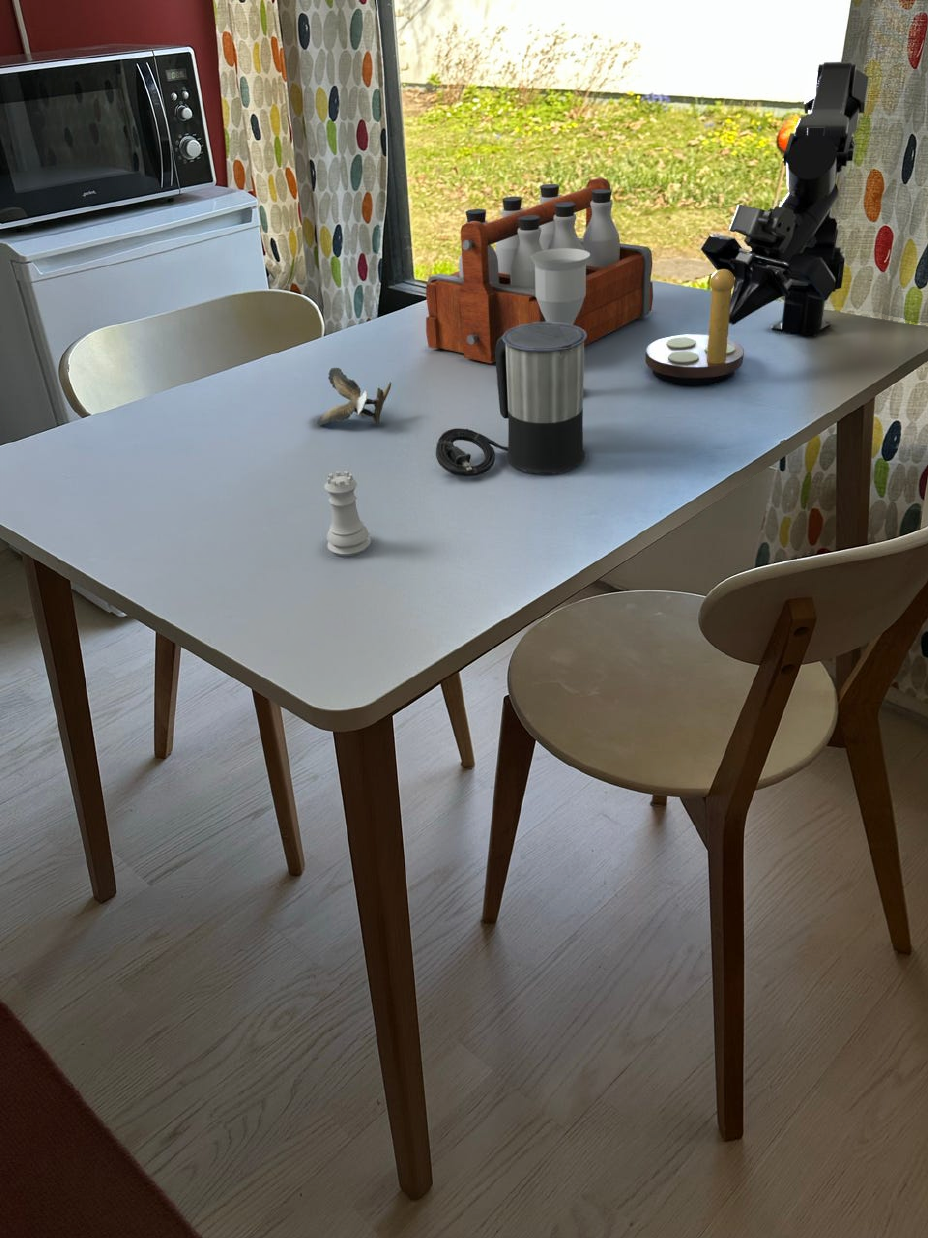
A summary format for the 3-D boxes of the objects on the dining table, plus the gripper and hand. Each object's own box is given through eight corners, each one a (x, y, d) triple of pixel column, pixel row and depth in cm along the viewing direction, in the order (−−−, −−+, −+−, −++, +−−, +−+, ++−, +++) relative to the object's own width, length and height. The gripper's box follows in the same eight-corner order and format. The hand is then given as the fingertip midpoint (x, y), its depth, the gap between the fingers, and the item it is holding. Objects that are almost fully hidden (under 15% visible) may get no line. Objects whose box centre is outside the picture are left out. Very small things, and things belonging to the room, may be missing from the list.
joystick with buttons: (678, 339, 148) (683, 243, 141) (760, 355, 140) (771, 255, 133) (626, 366, 140) (629, 266, 133) (711, 385, 133) (719, 280, 125)
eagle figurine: (396, 400, 136) (333, 384, 137) (388, 368, 129) (322, 351, 131) (376, 448, 133) (311, 432, 135) (367, 418, 126) (300, 401, 128)
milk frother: (602, 455, 120) (604, 330, 112) (511, 505, 112) (506, 372, 103) (512, 426, 129) (508, 308, 121) (421, 470, 120) (409, 345, 112)
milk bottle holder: (416, 354, 154) (404, 218, 143) (552, 292, 176) (550, 170, 165) (530, 380, 142) (526, 234, 131) (661, 310, 164) (667, 180, 153)
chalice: (588, 384, 139) (590, 247, 129) (589, 403, 134) (590, 261, 124) (534, 385, 140) (531, 249, 130) (532, 404, 135) (529, 263, 125)
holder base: (679, 352, 148) (680, 344, 147) (749, 367, 141) (750, 358, 141) (636, 375, 141) (636, 367, 140) (707, 392, 135) (708, 383, 134)
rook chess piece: (328, 538, 108) (317, 468, 103) (371, 534, 108) (362, 464, 103) (327, 560, 104) (316, 488, 100) (371, 555, 104) (362, 484, 100)
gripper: (716, 168, 134) (648, 272, 135) (833, 187, 120) (756, 302, 122) (753, 221, 141) (689, 319, 143) (867, 244, 128) (795, 352, 129)
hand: (729, 322), depth 134 cm, fingers closed
